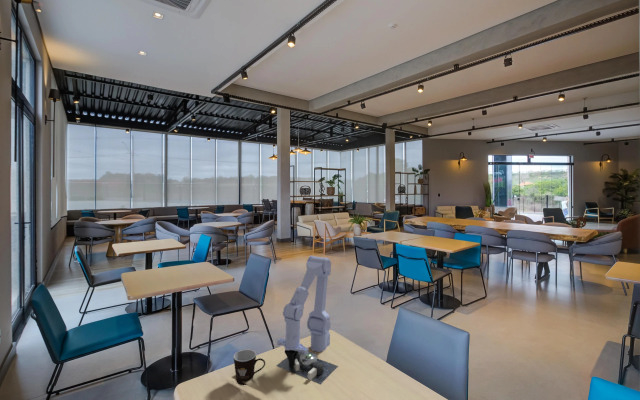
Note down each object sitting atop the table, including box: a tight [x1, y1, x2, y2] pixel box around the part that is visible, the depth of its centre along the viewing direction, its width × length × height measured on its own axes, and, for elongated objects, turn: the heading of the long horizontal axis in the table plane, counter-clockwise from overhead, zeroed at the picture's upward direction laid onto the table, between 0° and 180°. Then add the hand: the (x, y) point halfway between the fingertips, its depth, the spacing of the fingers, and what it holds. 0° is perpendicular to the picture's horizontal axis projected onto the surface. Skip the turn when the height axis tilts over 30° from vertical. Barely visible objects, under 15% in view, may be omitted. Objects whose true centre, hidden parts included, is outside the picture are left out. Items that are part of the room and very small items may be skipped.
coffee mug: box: [233, 348, 266, 386], centre depth 118 cm, size 12×9×10 cm
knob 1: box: [294, 354, 299, 371], centre depth 127 cm, size 8×4×3 cm, turn 18°
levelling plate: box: [275, 351, 339, 385], centre depth 127 cm, size 14×22×6 cm, turn 58°
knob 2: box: [307, 362, 323, 381], centre depth 121 cm, size 8×4×3 cm, turn 148°
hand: (292, 366), depth 124 cm, fingers closed, pressing on knob 1
